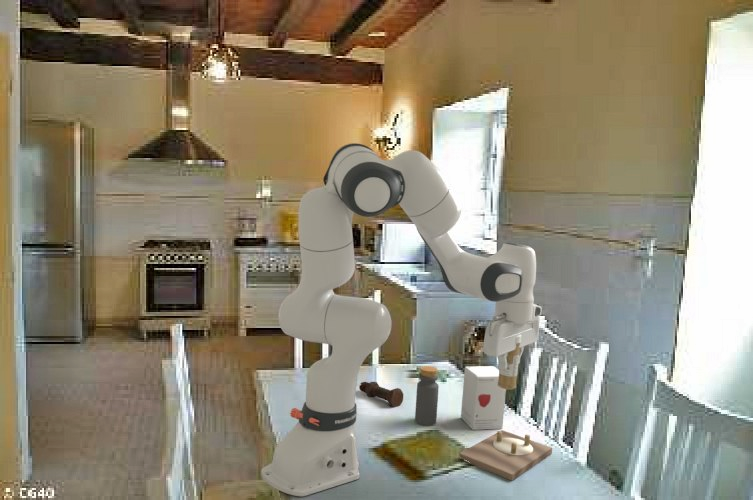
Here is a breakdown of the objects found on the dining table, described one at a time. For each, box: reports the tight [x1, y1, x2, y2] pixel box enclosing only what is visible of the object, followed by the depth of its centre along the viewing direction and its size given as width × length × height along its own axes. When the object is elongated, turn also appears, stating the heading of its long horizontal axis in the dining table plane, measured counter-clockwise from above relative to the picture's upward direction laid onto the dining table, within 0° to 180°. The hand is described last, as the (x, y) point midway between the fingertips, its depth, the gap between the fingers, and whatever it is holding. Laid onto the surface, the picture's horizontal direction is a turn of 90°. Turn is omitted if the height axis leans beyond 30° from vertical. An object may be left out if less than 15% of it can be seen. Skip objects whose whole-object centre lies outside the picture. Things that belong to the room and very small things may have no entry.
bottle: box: [414, 365, 440, 427], centre depth 160 cm, size 6×6×15 cm
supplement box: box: [460, 365, 507, 431], centre depth 161 cm, size 9×9×15 cm
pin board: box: [458, 429, 553, 481], centre depth 142 cm, size 20×14×4 cm
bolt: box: [358, 381, 404, 408], centre depth 176 cm, size 6×5×15 cm
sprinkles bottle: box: [498, 335, 521, 390], centre depth 141 cm, size 5×5×14 cm
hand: (509, 366), depth 142 cm, fingers closed on sprinkles bottle, 4 cm apart
